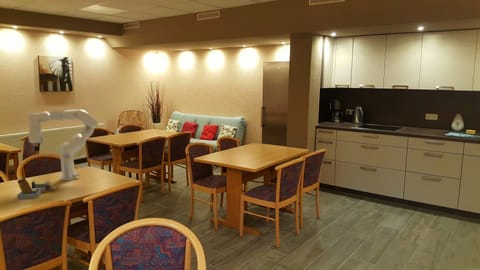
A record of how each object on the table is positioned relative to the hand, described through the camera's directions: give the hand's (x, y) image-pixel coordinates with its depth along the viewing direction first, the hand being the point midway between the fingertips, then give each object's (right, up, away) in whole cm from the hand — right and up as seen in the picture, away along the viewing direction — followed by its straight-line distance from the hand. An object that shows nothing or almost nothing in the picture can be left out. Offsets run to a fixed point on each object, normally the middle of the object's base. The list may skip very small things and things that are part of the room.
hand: (37, 150), depth 283 cm
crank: (+12, -28, -15) cm, 33 cm away
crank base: (+13, -30, -14) cm, 36 cm away
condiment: (+10, -30, -26) cm, 41 cm away
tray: (+10, -32, -26) cm, 42 cm away
